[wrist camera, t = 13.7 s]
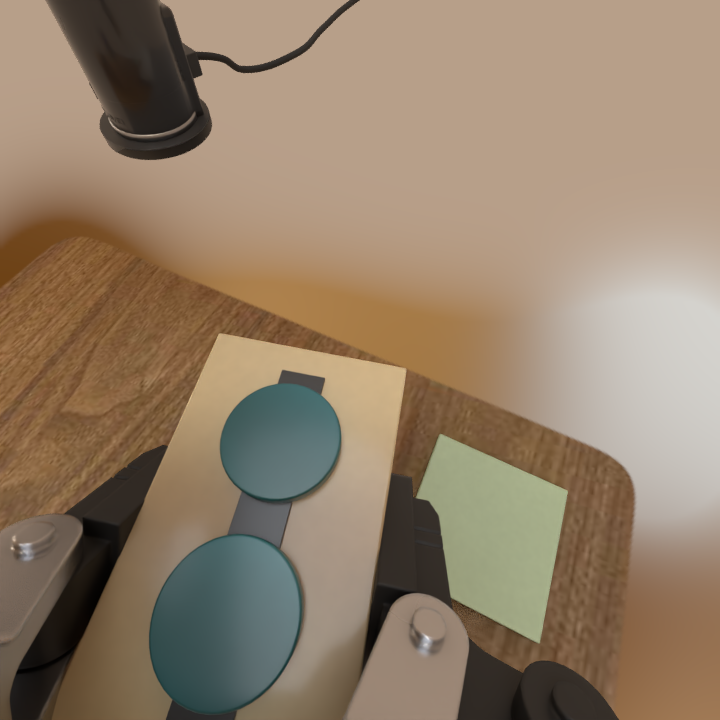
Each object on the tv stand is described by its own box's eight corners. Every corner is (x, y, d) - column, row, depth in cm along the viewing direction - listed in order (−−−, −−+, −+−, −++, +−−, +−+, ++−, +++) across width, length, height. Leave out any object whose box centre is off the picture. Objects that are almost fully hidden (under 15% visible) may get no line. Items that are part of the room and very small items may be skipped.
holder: (267, 426, 15) (211, 322, 9) (381, 449, 15) (412, 360, 8) (170, 722, 11) (-90, 962, 4) (329, 762, 10) (309, 1081, 4)
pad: (438, 435, 27) (440, 433, 26) (563, 492, 25) (568, 490, 25) (390, 566, 23) (391, 566, 22) (534, 642, 21) (539, 644, 21)
